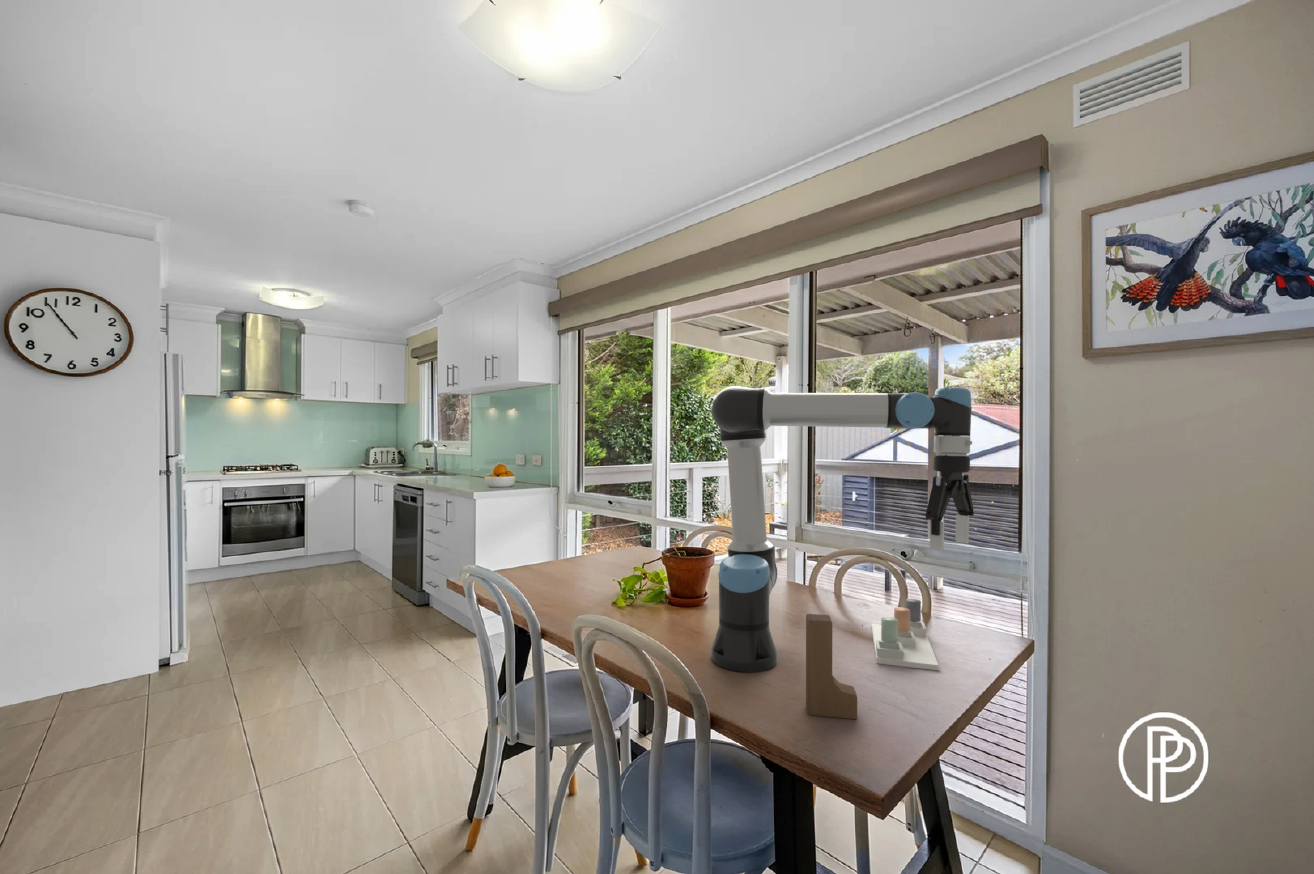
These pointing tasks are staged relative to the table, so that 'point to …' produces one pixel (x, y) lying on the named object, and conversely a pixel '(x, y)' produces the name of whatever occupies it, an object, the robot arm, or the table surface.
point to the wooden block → (825, 674)
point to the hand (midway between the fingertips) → (949, 545)
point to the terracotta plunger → (902, 618)
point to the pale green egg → (889, 629)
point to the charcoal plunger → (914, 609)
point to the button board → (905, 648)
